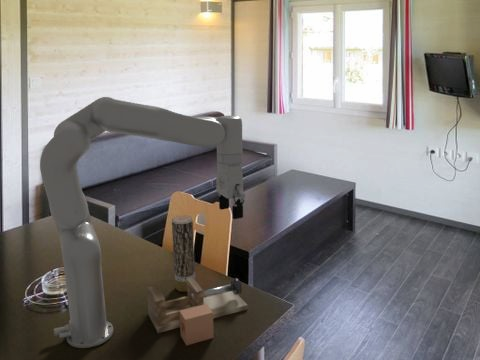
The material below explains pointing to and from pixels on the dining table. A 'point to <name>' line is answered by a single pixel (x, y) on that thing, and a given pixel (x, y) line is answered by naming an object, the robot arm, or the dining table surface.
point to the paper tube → (183, 251)
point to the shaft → (223, 289)
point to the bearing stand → (188, 305)
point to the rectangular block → (196, 324)
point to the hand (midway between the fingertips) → (230, 213)
